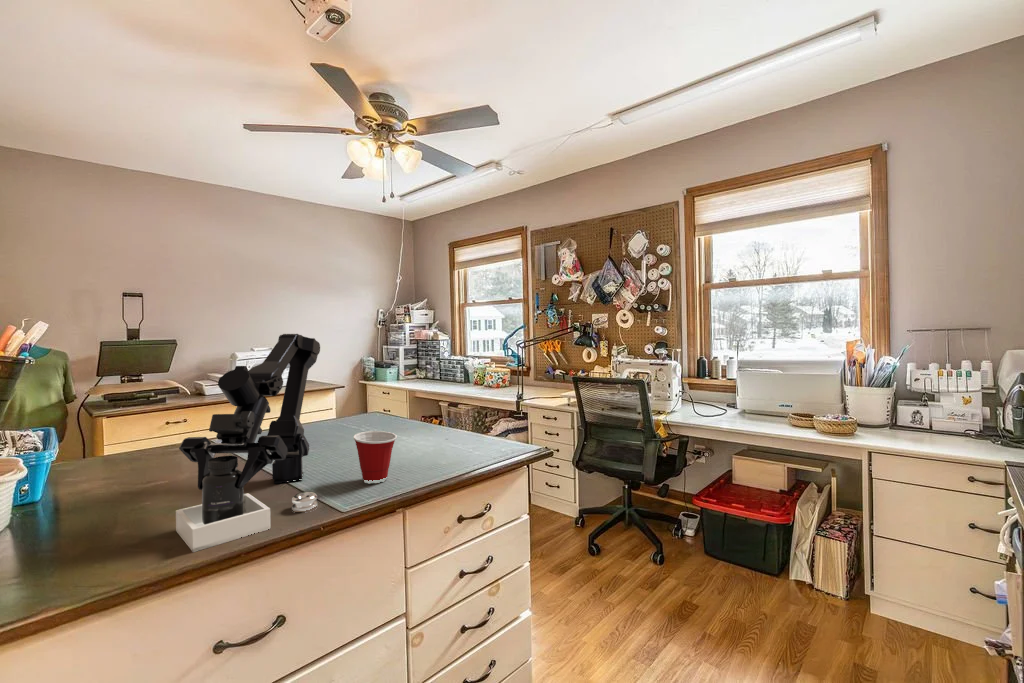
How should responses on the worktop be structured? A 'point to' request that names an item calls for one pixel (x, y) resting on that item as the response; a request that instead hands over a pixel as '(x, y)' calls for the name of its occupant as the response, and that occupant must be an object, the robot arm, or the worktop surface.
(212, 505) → the supplement bottle
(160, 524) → the worktop surface
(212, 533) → the bin
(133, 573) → the worktop surface
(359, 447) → the plastic cup
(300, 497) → the grooved metal pulley
